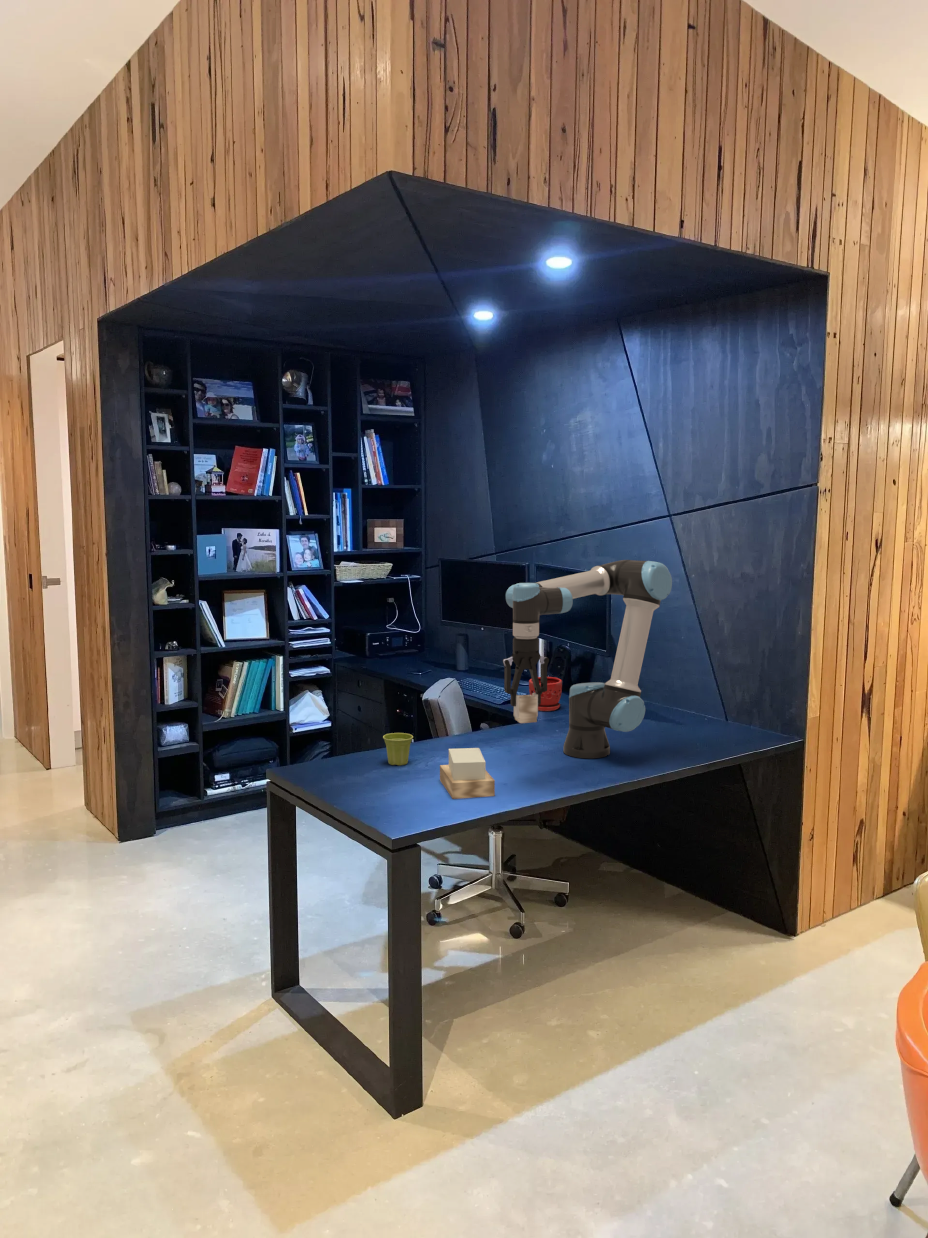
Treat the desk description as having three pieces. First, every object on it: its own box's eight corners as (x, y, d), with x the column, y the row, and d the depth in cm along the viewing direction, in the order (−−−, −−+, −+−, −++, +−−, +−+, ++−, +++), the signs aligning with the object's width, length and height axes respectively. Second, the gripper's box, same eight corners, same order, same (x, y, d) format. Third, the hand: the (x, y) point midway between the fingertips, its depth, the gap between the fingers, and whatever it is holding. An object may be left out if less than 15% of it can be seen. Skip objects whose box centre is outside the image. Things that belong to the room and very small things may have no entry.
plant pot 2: (525, 706, 370) (525, 677, 368) (556, 705, 372) (556, 676, 370) (533, 713, 357) (533, 683, 355) (565, 712, 359) (566, 682, 358)
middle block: (478, 764, 270) (478, 748, 270) (485, 779, 256) (485, 762, 255) (448, 765, 269) (448, 748, 269) (453, 780, 255) (453, 763, 254)
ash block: (531, 718, 268) (531, 694, 267) (536, 722, 263) (536, 698, 262) (514, 719, 267) (514, 695, 266) (520, 723, 262) (520, 699, 261)
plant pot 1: (402, 757, 294) (402, 731, 293) (419, 764, 287) (418, 737, 286) (377, 762, 289) (377, 735, 288) (393, 769, 281) (393, 741, 280)
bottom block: (479, 779, 273) (479, 762, 272) (494, 797, 255) (494, 780, 255) (439, 781, 270) (439, 765, 270) (452, 800, 253) (452, 783, 252)
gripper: (499, 640, 256) (499, 721, 259) (560, 637, 261) (559, 717, 264) (492, 636, 263) (492, 715, 266) (551, 633, 268) (550, 711, 271)
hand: (525, 716), depth 265 cm, fingers closed on ash block, 5 cm apart
